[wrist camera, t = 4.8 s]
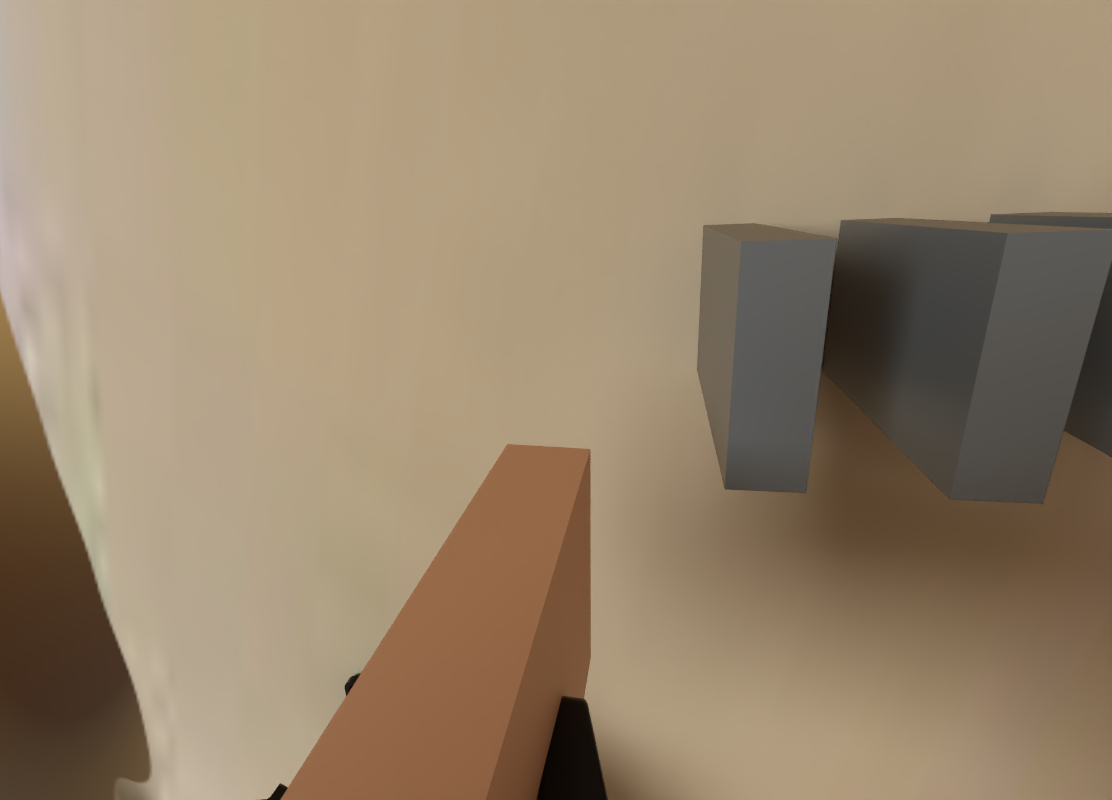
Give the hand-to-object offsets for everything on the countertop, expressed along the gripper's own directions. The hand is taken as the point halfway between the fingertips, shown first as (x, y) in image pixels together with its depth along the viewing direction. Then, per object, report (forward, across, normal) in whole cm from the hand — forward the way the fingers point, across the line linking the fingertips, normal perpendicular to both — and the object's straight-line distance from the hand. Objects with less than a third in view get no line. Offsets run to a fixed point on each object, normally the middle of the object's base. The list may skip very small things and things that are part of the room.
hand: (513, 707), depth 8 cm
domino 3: (+14, -8, -4) cm, 16 cm away
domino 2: (+14, -4, -4) cm, 15 cm away
